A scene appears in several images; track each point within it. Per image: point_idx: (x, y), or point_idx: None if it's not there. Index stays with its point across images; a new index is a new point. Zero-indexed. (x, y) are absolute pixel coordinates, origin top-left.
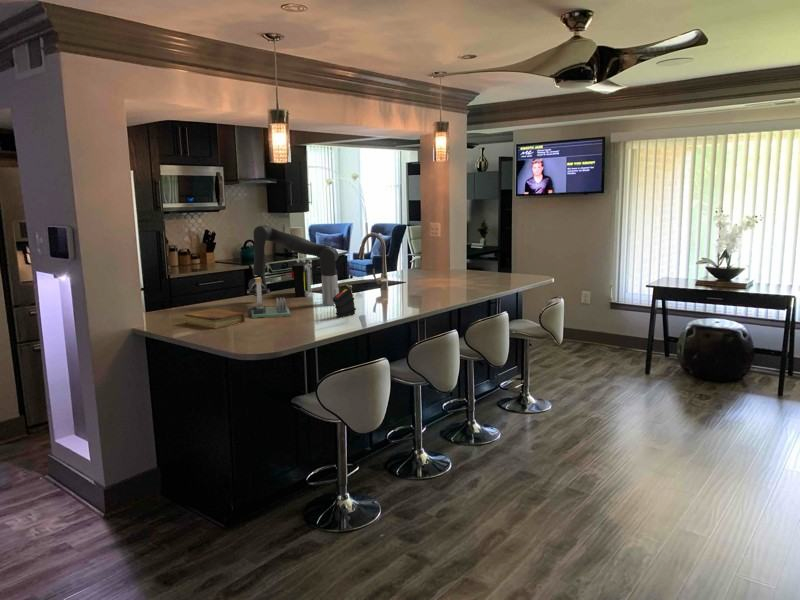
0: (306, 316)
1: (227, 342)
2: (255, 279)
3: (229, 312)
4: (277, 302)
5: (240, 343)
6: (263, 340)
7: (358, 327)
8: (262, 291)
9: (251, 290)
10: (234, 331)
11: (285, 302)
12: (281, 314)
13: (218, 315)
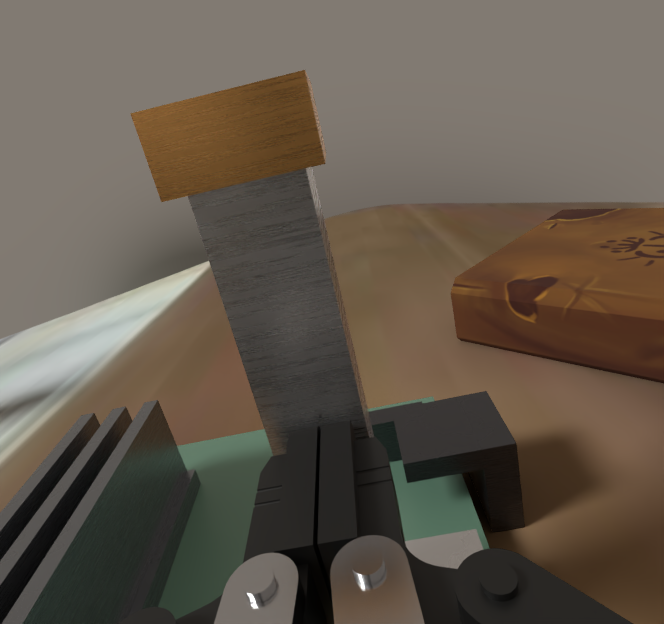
0: (32, 471)
1: (440, 218)
2: (310, 90)
3: (563, 268)
4: (104, 534)
5: (402, 222)
6: (343, 239)
7: (25, 334)
8: (200, 614)
9: (607, 612)
10: (457, 259)
11: (86, 416)
12: (191, 446)
13: (591, 231)
